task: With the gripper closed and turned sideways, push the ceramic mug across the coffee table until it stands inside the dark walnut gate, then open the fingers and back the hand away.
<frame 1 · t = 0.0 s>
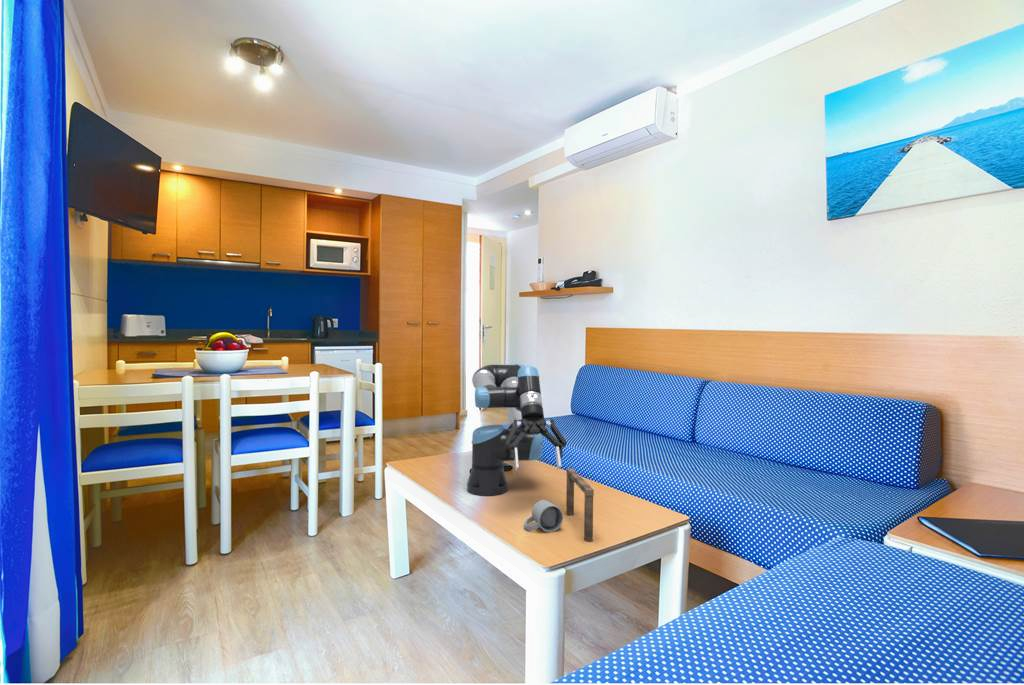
hand: (538, 468, 154), 15 cm above the table, tool tilted 35°, fingers open, 13 cm apart
walnut gate: (578, 526, 146), on the table
ceramic mug: (542, 528, 145), on the table
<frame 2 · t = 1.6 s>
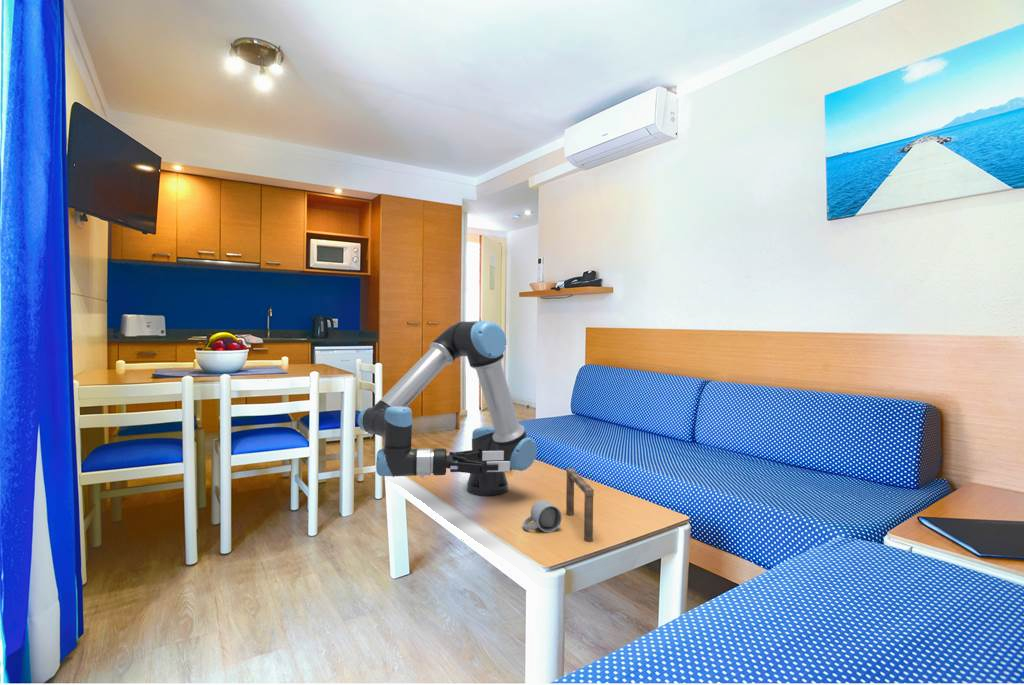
hand: (506, 460, 143), 20 cm above the table, tool horizontal, fingers open, 12 cm apart
nothing on the table moved.
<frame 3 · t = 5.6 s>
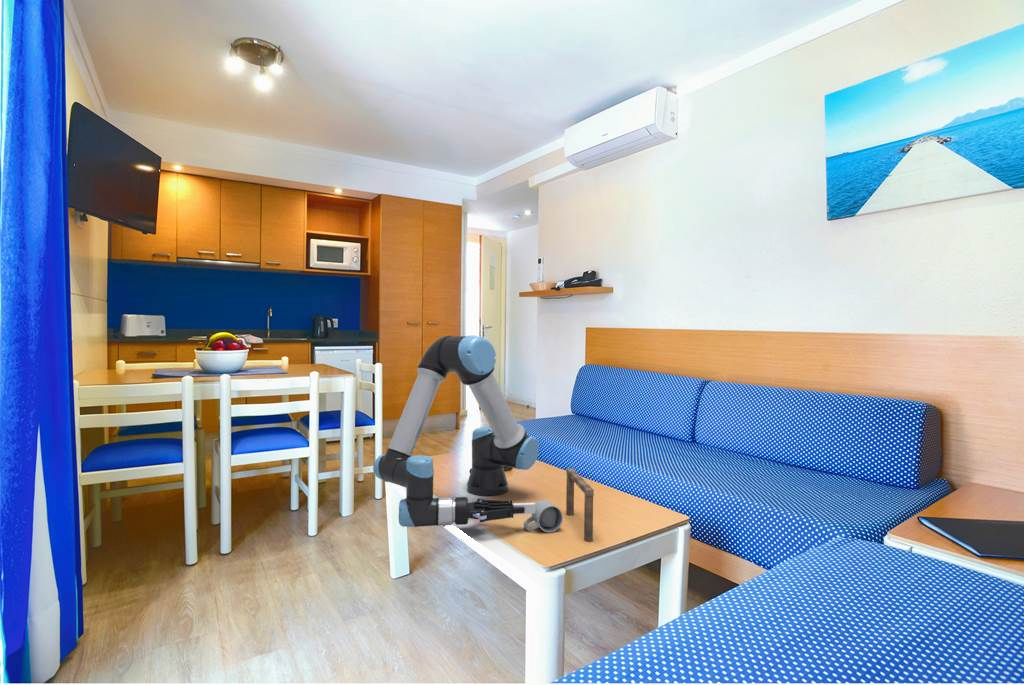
hand: (534, 508, 143), 6 cm above the table, tool horizontal, fingers closed
ceramic mug: (542, 529, 145), on the table, touching gripper
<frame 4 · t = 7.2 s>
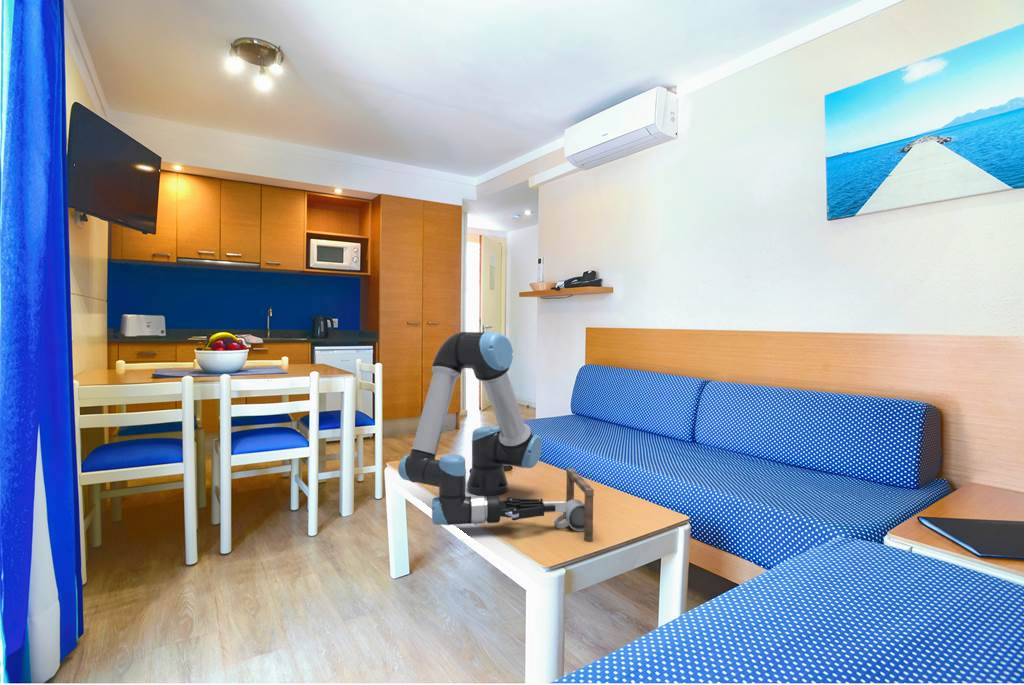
hand: (565, 506, 145), 6 cm above the table, tool horizontal, fingers closed
ceramic mug: (572, 527, 146), on the table, touching gripper
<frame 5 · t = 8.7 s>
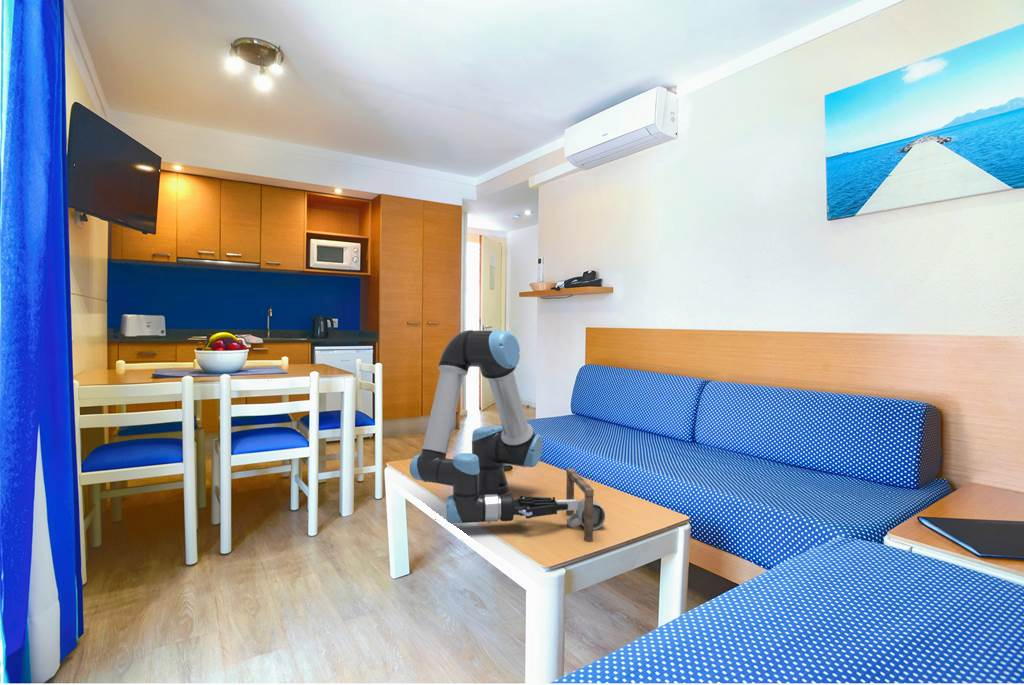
hand: (577, 504, 146), 6 cm above the table, tool horizontal, fingers closed
ceramic mug: (585, 526, 147), on the table, touching gripper
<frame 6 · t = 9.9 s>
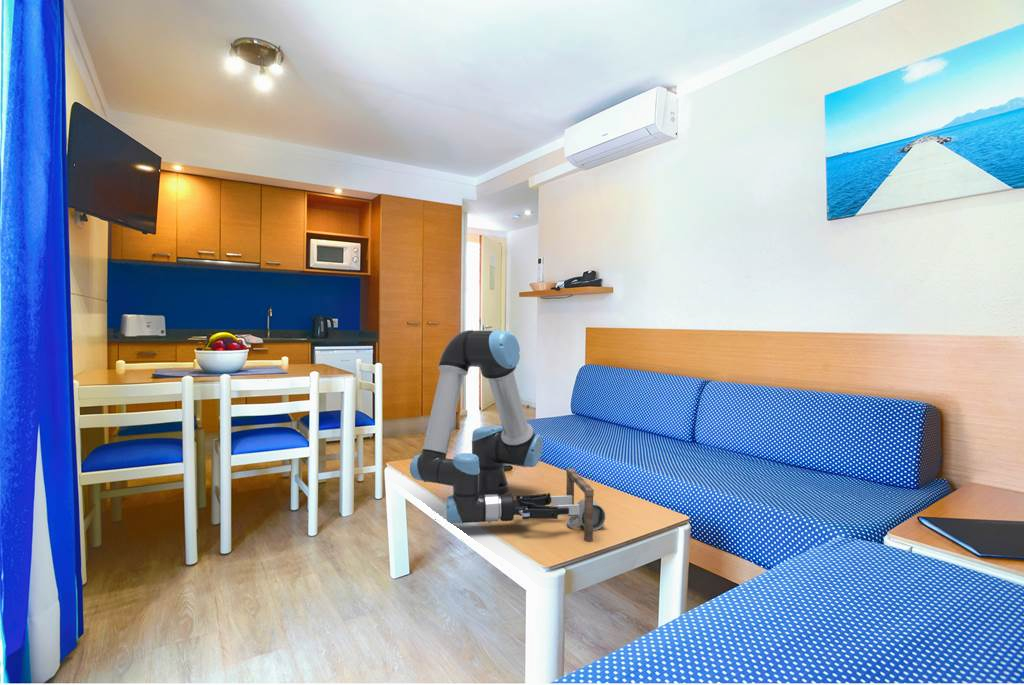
hand: (575, 504, 146), 6 cm above the table, tool horizontal, fingers open, 7 cm apart
ceramic mug: (585, 527, 147), on the table
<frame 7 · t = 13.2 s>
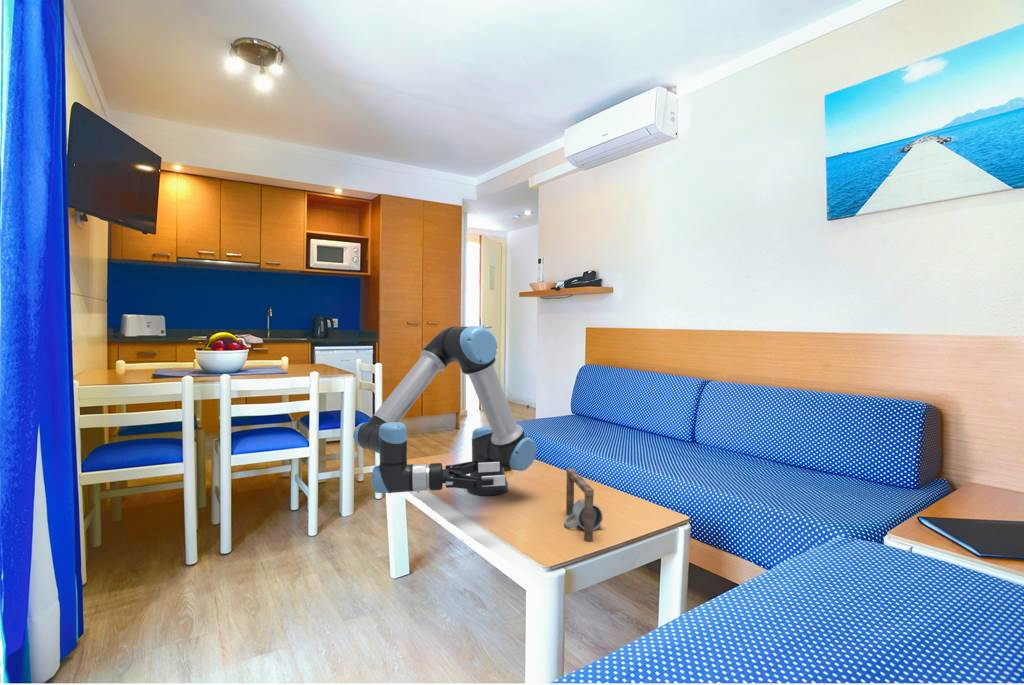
hand: (502, 473, 143), 17 cm above the table, tool horizontal, fingers open, 13 cm apart
nothing on the table moved.
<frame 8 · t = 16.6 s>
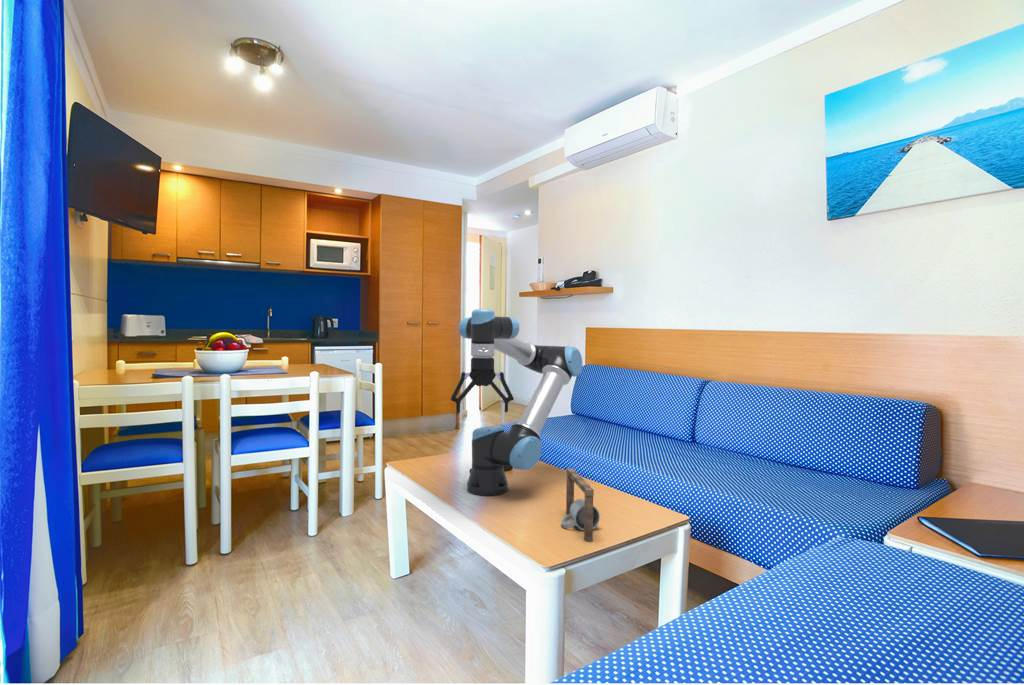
hand: (482, 422, 158), 29 cm above the table, tool pointing down, fingers open, 13 cm apart
at the end: ceramic mug inside the target area on the table beside the walnut gate (2.1 cm from its centre), on the table; ceramic mug tilted 0°; the gripper is holding nothing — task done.
